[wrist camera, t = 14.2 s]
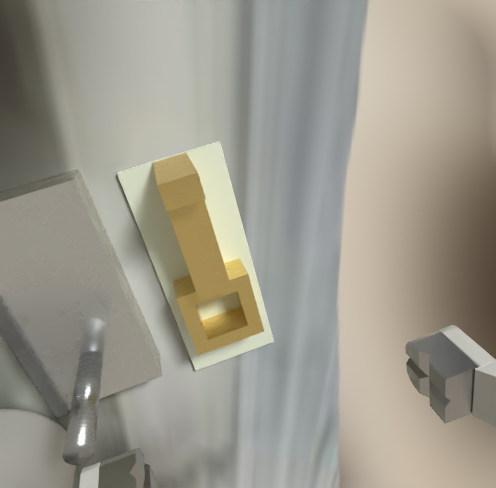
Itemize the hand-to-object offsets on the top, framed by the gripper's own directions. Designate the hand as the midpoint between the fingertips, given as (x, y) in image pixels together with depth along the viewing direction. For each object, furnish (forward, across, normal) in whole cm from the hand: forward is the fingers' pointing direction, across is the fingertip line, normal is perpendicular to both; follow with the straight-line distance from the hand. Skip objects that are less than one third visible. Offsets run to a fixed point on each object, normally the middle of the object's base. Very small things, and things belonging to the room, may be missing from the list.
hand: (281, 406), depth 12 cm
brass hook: (+23, 0, +6) cm, 24 cm away
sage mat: (+23, 0, +8) cm, 25 cm away
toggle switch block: (+23, +12, +6) cm, 27 cm away
